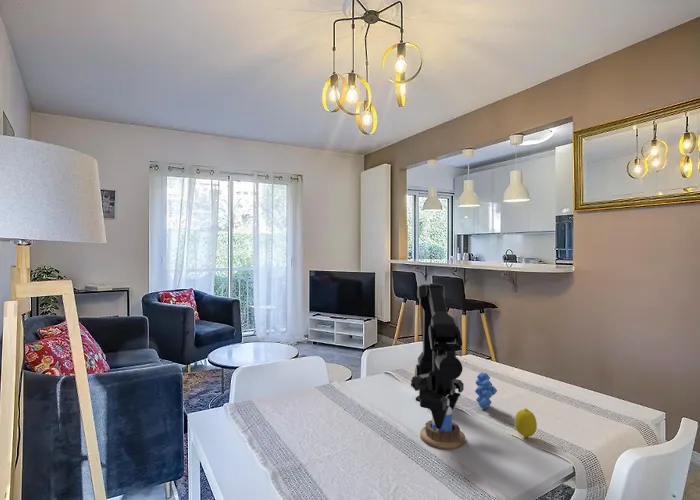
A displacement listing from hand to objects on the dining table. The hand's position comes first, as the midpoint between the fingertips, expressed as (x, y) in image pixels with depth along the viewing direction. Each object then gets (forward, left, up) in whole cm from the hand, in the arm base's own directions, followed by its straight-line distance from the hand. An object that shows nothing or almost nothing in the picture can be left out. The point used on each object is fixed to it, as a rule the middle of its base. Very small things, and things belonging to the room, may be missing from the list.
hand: (442, 424), depth 110 cm
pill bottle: (0, 0, -3) cm, 3 cm away
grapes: (-27, +5, -4) cm, 28 cm away
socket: (0, 0, -4) cm, 4 cm away
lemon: (-13, +19, -4) cm, 23 cm away
